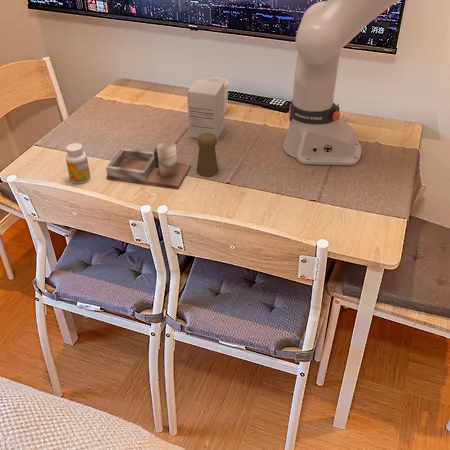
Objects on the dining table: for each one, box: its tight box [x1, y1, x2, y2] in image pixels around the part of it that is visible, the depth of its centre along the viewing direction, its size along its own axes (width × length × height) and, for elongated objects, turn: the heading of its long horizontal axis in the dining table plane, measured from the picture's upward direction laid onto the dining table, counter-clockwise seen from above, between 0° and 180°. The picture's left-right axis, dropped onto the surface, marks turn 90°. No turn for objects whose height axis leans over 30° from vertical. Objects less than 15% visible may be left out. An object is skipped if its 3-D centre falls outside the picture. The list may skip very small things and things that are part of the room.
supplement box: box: [186, 79, 225, 141], centre depth 157 cm, size 9×9×15 cm
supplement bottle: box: [65, 142, 91, 185], centre depth 138 cm, size 5×5×10 cm
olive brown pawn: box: [196, 132, 220, 178], centre depth 141 cm, size 6×6×11 cm
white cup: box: [204, 77, 229, 115], centre depth 170 cm, size 8×8×10 cm
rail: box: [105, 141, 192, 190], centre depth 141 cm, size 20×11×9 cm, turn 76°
